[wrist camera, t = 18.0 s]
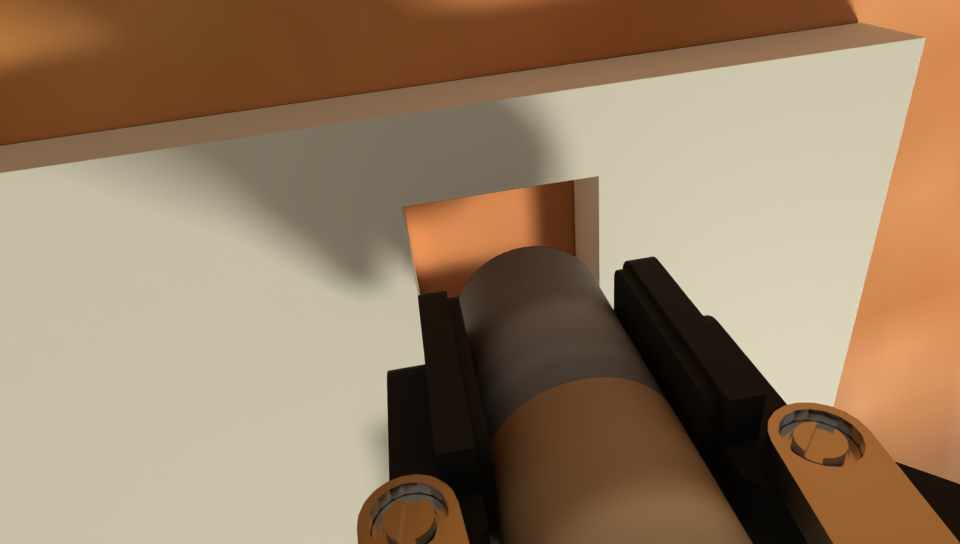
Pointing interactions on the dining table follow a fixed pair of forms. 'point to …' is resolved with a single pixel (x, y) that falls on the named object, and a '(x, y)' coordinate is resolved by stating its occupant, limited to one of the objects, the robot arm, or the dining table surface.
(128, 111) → the dining table surface
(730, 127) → the wall panel
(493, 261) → the tan cylinder
